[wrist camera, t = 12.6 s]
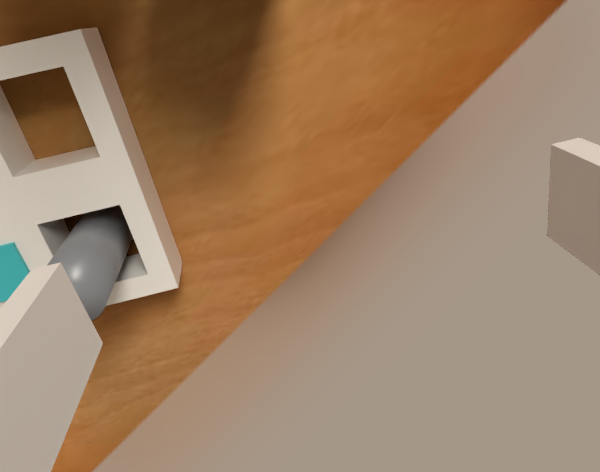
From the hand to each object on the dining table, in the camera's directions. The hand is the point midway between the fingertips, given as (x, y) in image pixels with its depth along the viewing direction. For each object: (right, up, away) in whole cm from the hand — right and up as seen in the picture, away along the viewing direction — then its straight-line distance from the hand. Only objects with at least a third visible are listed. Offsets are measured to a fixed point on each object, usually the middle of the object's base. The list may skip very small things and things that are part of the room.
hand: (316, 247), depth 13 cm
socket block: (-19, +4, +21) cm, 29 cm away
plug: (-15, +1, +24) cm, 28 cm away
